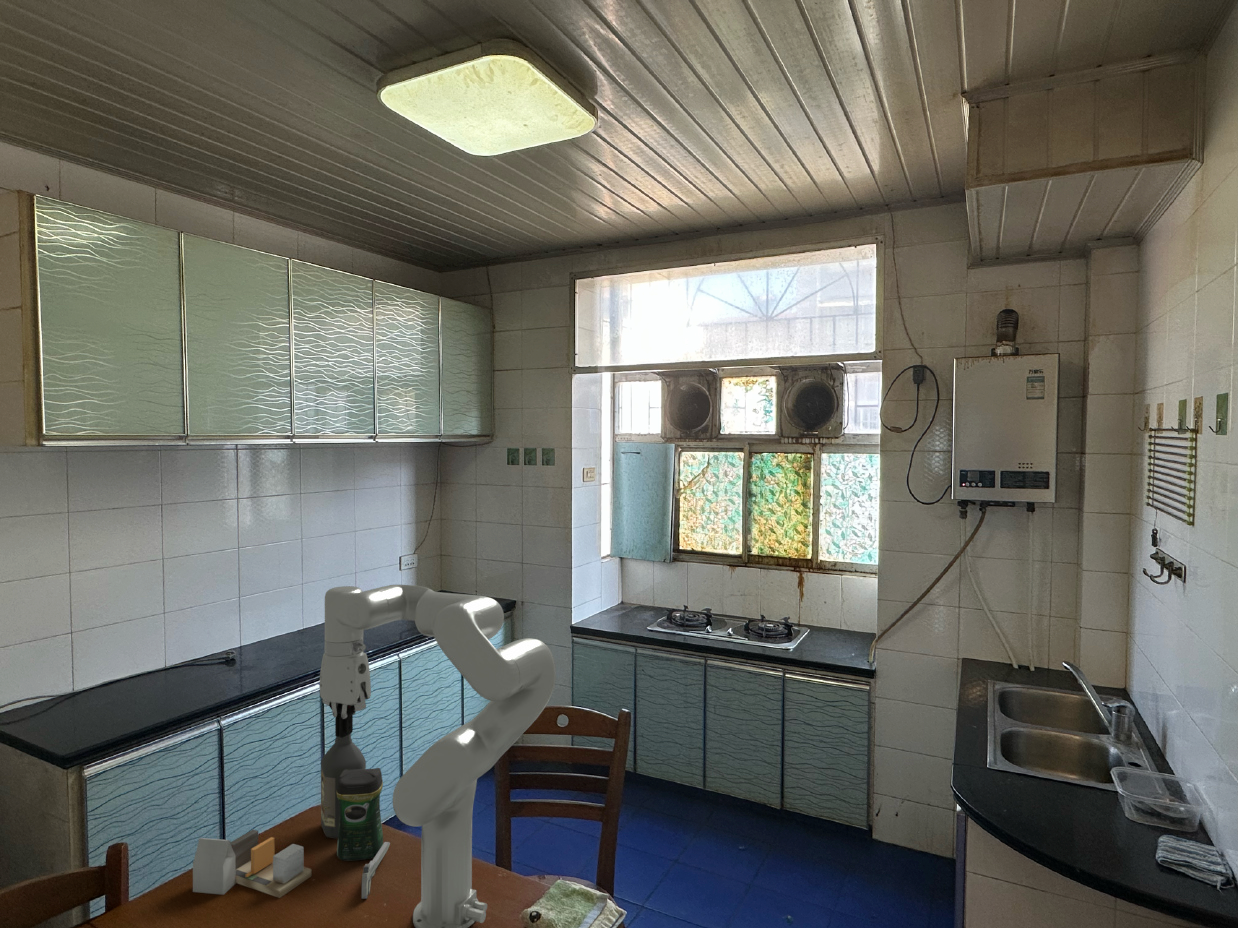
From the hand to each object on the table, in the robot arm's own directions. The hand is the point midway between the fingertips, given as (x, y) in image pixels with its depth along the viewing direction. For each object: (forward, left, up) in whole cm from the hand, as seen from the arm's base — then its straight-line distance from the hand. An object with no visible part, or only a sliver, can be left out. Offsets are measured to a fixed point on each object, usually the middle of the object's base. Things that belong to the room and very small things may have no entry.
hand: (344, 734), depth 146 cm
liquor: (+16, -16, -31) cm, 39 cm away
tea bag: (+23, +12, -31) cm, 41 cm away
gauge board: (+16, +5, -31) cm, 35 cm away
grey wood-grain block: (+10, +5, -29) cm, 31 cm away
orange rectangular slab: (+18, +6, -29) cm, 35 cm away
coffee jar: (+5, -10, -31) cm, 33 cm away
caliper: (-3, -6, -32) cm, 32 cm away
